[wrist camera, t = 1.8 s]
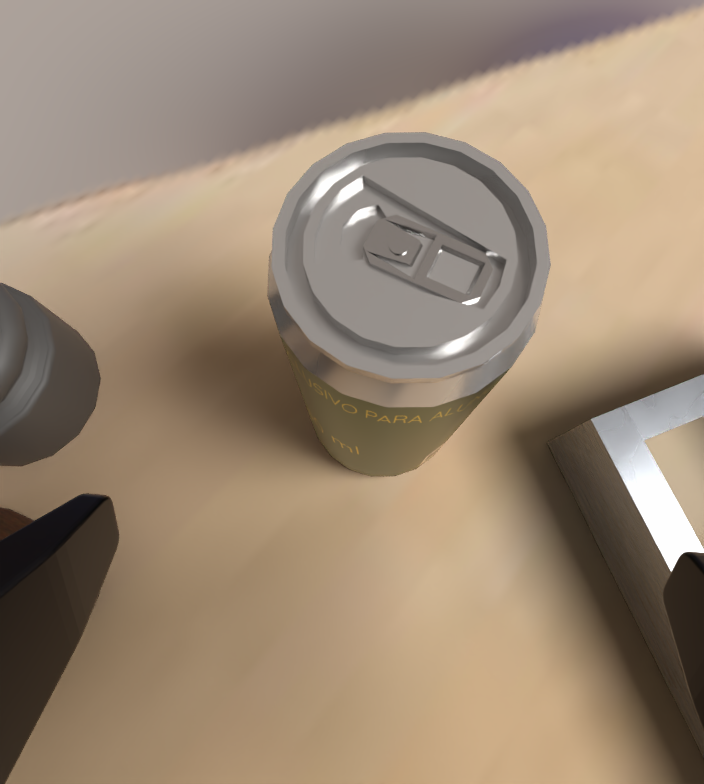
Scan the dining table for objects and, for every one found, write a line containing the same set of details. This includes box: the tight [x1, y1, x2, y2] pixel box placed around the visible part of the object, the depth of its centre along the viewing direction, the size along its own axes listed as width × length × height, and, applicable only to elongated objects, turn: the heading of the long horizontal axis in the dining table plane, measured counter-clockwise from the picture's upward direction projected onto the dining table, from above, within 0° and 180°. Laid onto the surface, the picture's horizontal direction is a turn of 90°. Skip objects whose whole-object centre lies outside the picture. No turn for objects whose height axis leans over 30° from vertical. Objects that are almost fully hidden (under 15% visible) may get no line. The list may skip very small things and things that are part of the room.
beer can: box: [268, 132, 551, 476], centre depth 15 cm, size 5×5×12 cm
